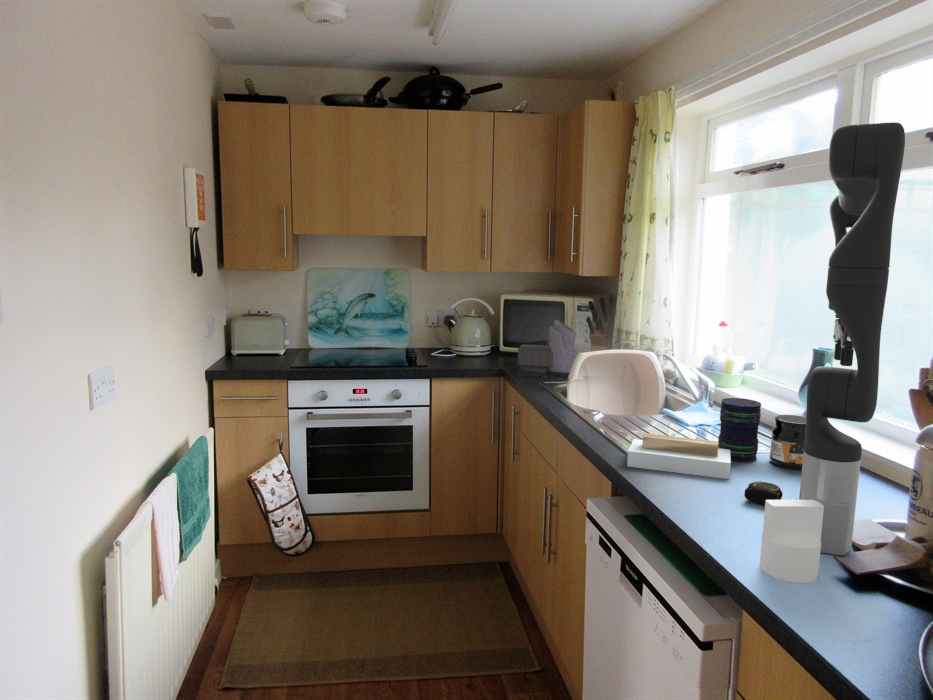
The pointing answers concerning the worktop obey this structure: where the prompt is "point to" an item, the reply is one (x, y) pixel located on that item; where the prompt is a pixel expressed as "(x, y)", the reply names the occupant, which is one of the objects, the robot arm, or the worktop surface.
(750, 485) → the tape measure
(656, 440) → the miniature wooden bench
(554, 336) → the juicer
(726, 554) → the worktop surface
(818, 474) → the robot arm
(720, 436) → the storage jar
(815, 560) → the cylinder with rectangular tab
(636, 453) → the slot board
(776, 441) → the supplement container
